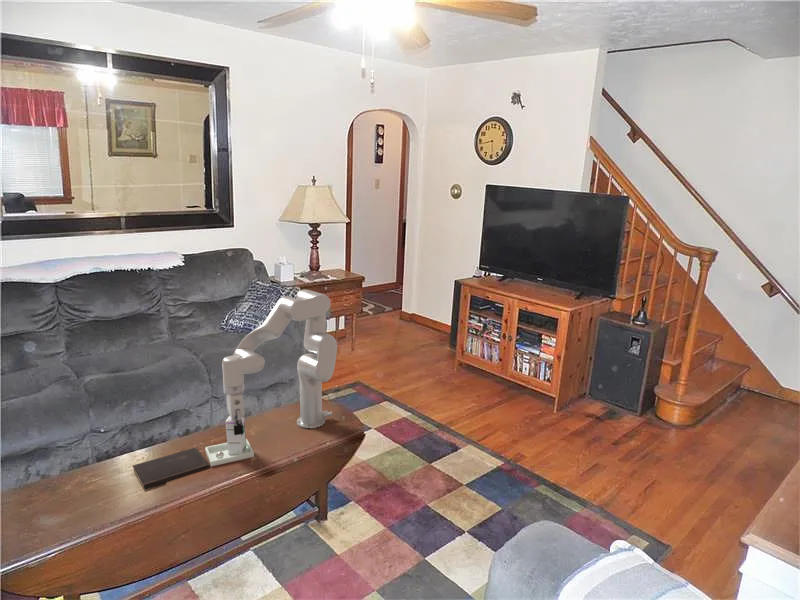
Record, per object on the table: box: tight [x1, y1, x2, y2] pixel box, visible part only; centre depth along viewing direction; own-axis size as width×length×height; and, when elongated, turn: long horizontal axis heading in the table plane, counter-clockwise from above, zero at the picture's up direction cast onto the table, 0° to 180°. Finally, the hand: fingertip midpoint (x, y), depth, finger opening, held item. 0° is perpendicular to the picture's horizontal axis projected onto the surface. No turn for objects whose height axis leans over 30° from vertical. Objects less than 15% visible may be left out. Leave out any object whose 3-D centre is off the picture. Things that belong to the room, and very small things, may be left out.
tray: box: [205, 438, 255, 467], centre depth 210 cm, size 16×12×2 cm
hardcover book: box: [132, 446, 211, 490], centre depth 200 cm, size 16×23×2 cm
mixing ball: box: [216, 451, 224, 459], centre depth 206 cm, size 3×3×3 cm
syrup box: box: [224, 416, 247, 454], centre depth 211 cm, size 6×6×14 cm
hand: (235, 428), depth 210 cm, fingers open, 9 cm apart
